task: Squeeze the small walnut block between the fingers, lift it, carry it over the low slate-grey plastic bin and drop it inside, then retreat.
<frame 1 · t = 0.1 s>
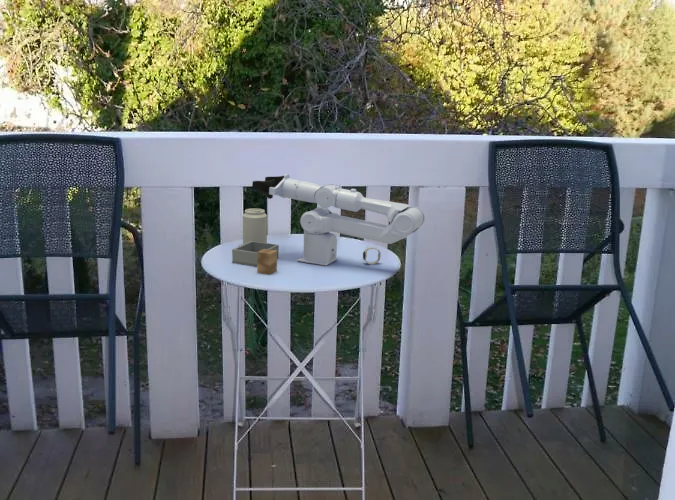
hand: (259, 182, 218), 22 cm above the table, tool horizontal, fingers open, 7 cm apart
can: (254, 247, 229), on the table
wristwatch: (371, 264, 215), on the table
bin: (255, 260, 215), on the table
walnut block: (267, 271, 204), on the table
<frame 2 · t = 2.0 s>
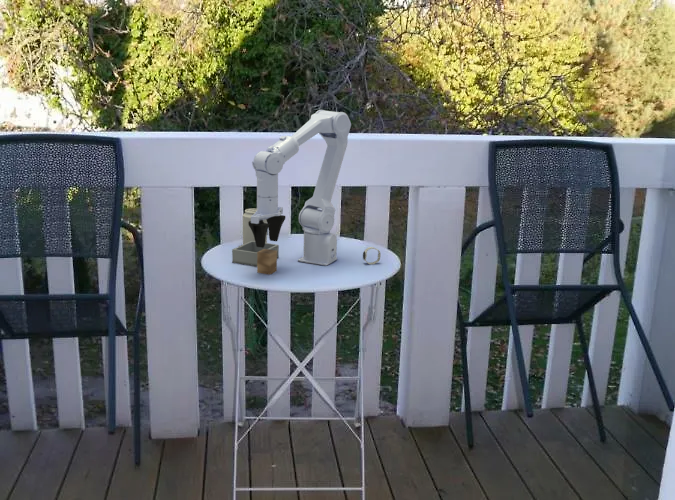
hand: (267, 243, 202), 8 cm above the table, tool pointing down, fingers open, 7 cm apart
nothing on the table moved.
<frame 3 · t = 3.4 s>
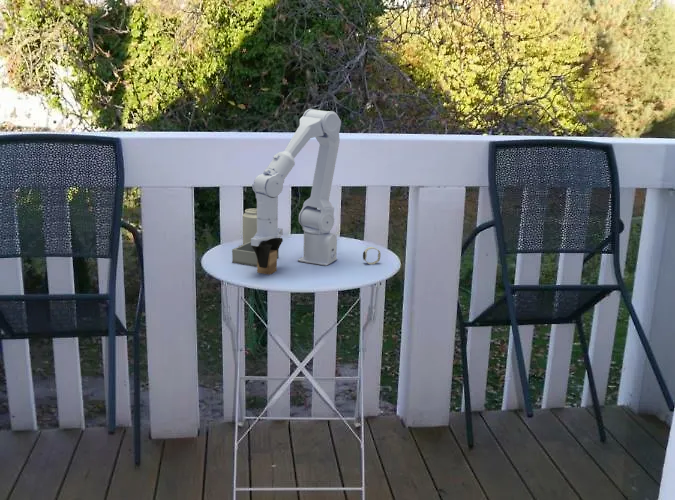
hand: (267, 265, 204), 2 cm above the table, tool pointing down, fingers closed on walnut block, 4 cm apart
walnut block: (267, 271, 204), on the table, touching gripper
everything else where it was.
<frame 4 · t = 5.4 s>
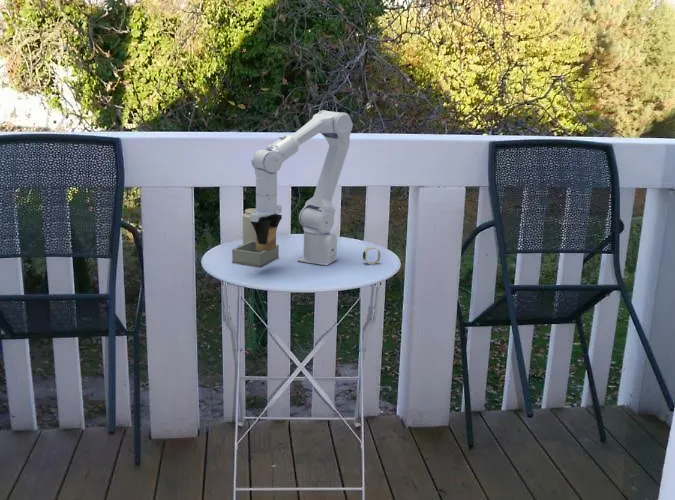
hand: (266, 241, 203), 8 cm above the table, tool pointing down, fingers closed on walnut block, 4 cm apart
walnut block: (266, 248, 204), point 6 cm above the table, touching gripper
everything else where it was.
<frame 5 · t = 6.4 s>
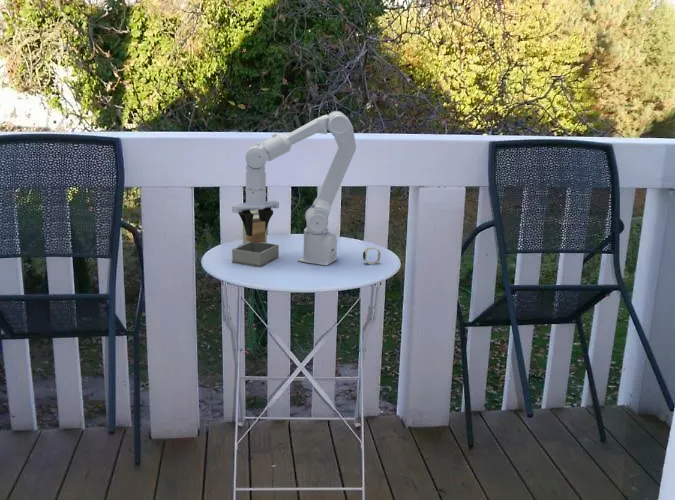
hand: (255, 234, 213), 8 cm above the table, tool pointing down, fingers closed on walnut block, 4 cm apart
walnut block: (255, 240, 213), point 6 cm above the table, touching gripper
everything else where it was.
when the fingers open (4 cm above the table, at t = 7.3 s): walnut block drops 2 cm, resting on bin.
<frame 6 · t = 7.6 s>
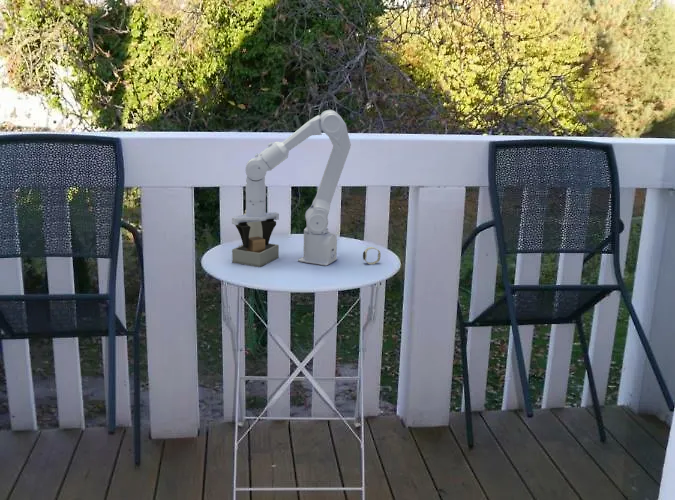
hand: (255, 245, 214), 4 cm above the table, tool pointing down, fingers open, 6 cm apart
walnut block: (255, 258, 215), point 1 cm above the table, touching bin
everything else where it was.
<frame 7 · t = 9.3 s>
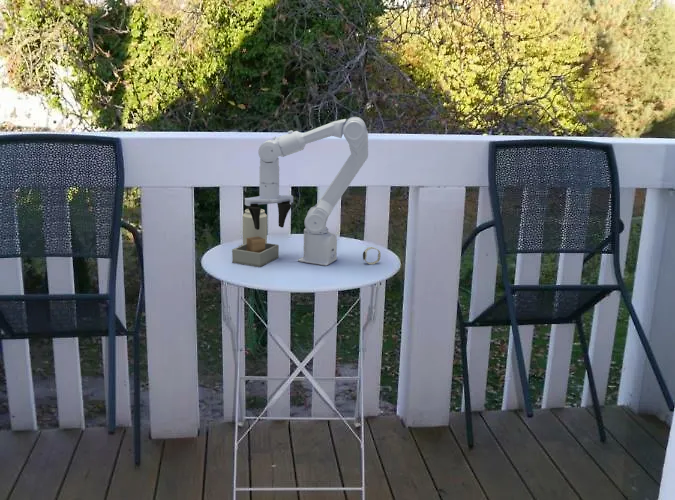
hand: (269, 227, 215), 9 cm above the table, tool pointing down, fingers open, 7 cm apart
nothing on the table moved.
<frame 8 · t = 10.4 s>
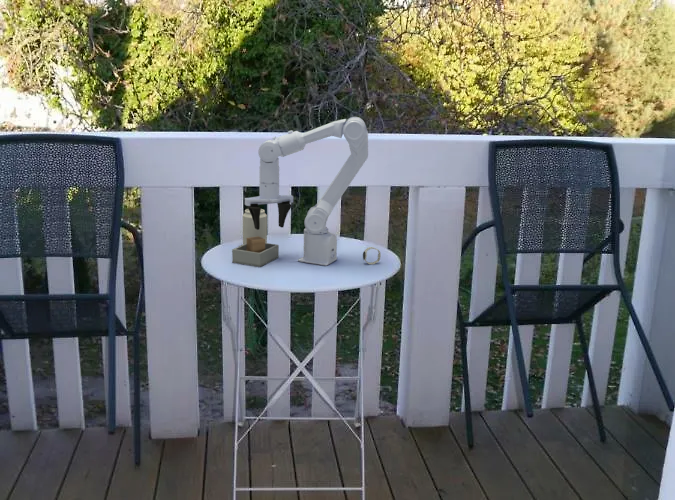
hand: (269, 227, 215), 9 cm above the table, tool pointing down, fingers open, 7 cm apart
nothing on the table moved.
at the end: walnut block inside the target area on the bin (0.1 cm from its centre), point 0.6 cm above the bin's base; the gripper is holding nothing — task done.
